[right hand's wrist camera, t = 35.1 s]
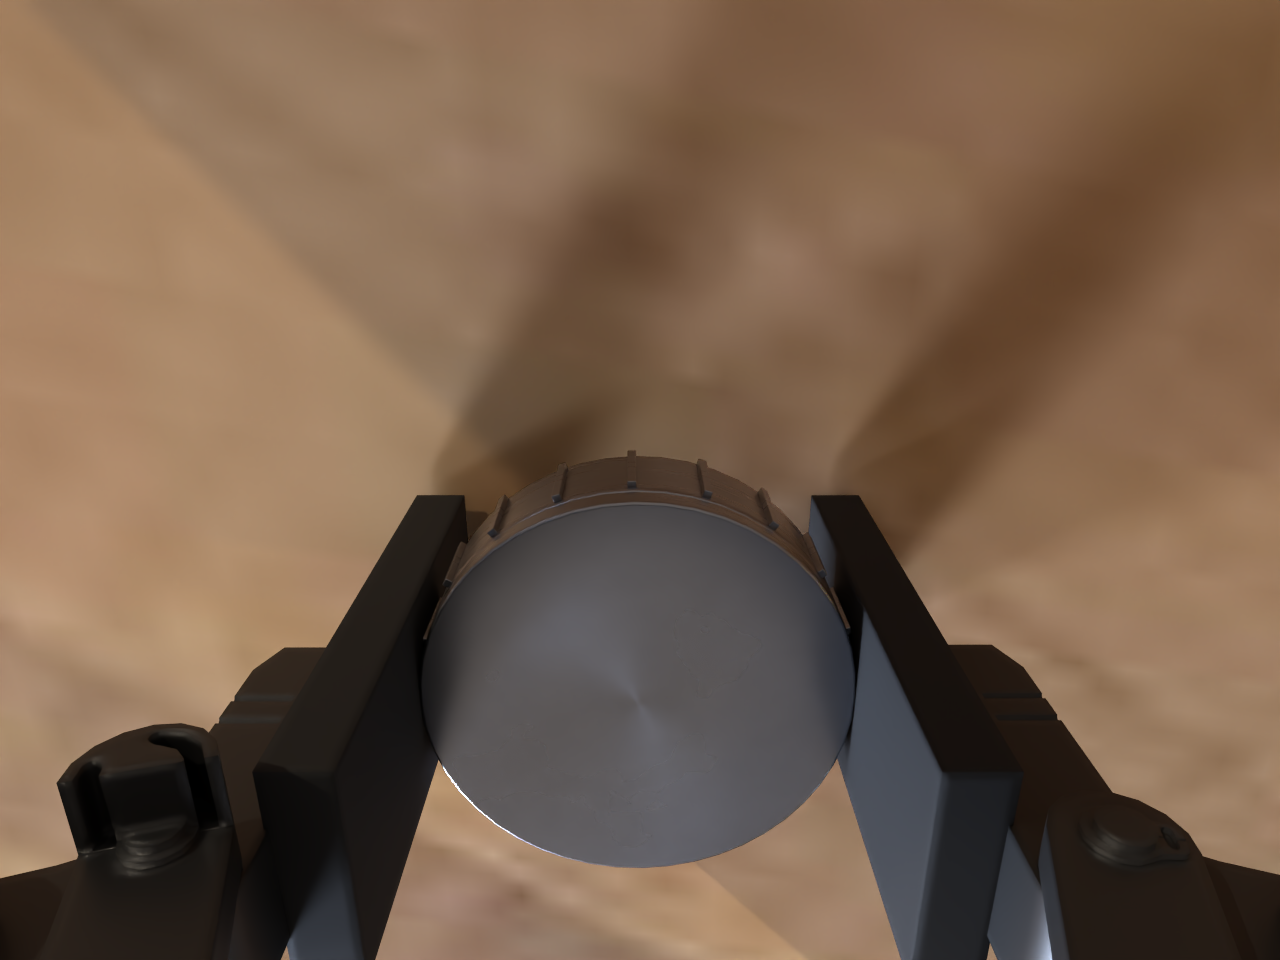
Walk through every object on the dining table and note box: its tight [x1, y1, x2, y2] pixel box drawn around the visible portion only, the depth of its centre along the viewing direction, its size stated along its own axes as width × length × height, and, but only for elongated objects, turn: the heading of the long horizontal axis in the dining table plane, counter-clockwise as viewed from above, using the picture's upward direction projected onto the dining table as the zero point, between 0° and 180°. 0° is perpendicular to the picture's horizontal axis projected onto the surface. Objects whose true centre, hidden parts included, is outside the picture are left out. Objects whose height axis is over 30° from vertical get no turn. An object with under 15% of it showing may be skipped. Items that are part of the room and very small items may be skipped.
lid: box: [419, 451, 856, 868], centre depth 12 cm, size 6×6×2 cm
